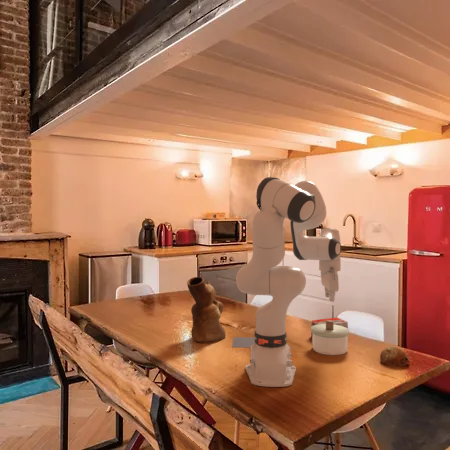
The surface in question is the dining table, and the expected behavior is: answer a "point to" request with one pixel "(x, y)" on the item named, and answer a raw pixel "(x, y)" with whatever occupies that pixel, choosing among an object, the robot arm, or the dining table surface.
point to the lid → (329, 330)
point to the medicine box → (336, 320)
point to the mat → (243, 342)
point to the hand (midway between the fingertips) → (329, 298)
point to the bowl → (330, 345)
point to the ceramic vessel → (205, 312)
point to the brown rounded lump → (394, 356)
